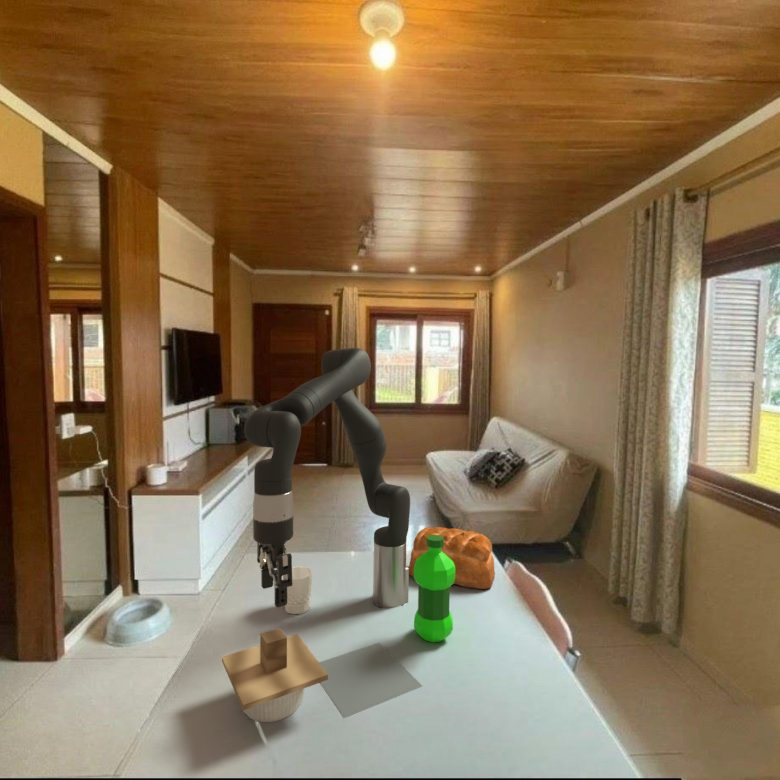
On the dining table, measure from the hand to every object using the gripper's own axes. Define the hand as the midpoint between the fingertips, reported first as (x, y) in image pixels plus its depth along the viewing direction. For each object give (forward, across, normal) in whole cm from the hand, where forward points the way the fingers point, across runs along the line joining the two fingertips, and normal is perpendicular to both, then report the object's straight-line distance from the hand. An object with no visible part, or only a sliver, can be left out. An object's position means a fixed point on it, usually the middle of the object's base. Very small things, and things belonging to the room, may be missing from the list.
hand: (273, 596), depth 93 cm
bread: (+23, +28, -66) cm, 75 cm away
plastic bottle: (+22, +3, -41) cm, 47 cm away
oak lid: (+15, 0, 0) cm, 15 cm away
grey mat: (+22, -2, -19) cm, 29 cm away
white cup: (+22, +33, -17) cm, 43 cm away
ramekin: (+22, 0, 0) cm, 22 cm away
